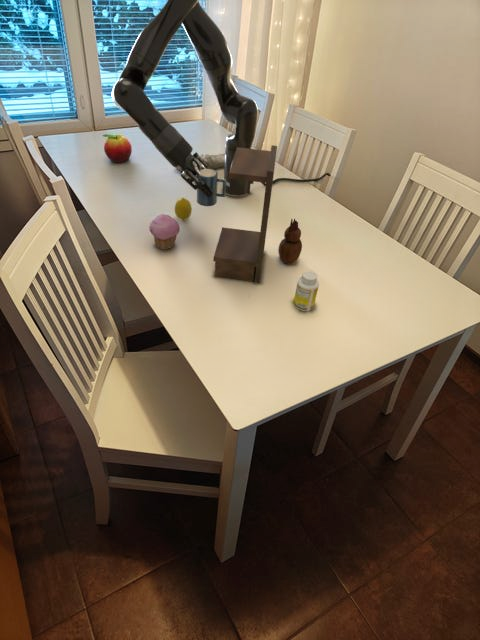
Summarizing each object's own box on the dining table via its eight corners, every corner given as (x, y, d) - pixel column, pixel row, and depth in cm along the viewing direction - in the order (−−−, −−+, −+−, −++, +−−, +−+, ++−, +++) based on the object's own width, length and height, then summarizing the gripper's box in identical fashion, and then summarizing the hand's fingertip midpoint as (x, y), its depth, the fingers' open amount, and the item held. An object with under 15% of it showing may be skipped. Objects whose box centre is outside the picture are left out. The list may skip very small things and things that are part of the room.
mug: (195, 205, 130) (195, 175, 124) (198, 195, 134) (199, 167, 128) (223, 208, 129) (224, 179, 123) (226, 199, 134) (227, 170, 128)
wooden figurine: (283, 268, 131) (291, 223, 121) (273, 257, 135) (280, 213, 124) (302, 263, 133) (311, 219, 123) (292, 253, 137) (300, 209, 127)
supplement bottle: (309, 297, 122) (316, 267, 115) (316, 310, 118) (324, 280, 111) (290, 299, 120) (296, 269, 113) (297, 313, 116) (303, 282, 109)
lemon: (188, 225, 145) (188, 203, 140) (172, 222, 146) (172, 200, 140) (193, 217, 149) (193, 195, 144) (178, 214, 150) (177, 192, 144)
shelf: (212, 277, 125) (216, 164, 103) (220, 246, 137) (226, 140, 115) (259, 283, 125) (273, 171, 102) (263, 252, 137) (277, 145, 114)
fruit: (129, 166, 175) (127, 140, 168) (102, 164, 175) (98, 138, 168) (135, 155, 183) (132, 130, 176) (109, 153, 182) (105, 128, 176)
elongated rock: (257, 167, 185) (245, 159, 192) (258, 154, 182) (246, 147, 189) (180, 175, 170) (170, 166, 177) (180, 162, 167) (170, 153, 173)
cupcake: (168, 235, 140) (167, 207, 133) (185, 247, 135) (185, 218, 129) (145, 245, 135) (142, 216, 128) (162, 257, 130) (160, 228, 124)
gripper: (175, 146, 114) (218, 194, 122) (186, 127, 125) (225, 172, 133) (156, 164, 118) (199, 209, 126) (168, 144, 129) (207, 186, 136)
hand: (212, 190), depth 129 cm, fingers closed on mug, 6 cm apart
